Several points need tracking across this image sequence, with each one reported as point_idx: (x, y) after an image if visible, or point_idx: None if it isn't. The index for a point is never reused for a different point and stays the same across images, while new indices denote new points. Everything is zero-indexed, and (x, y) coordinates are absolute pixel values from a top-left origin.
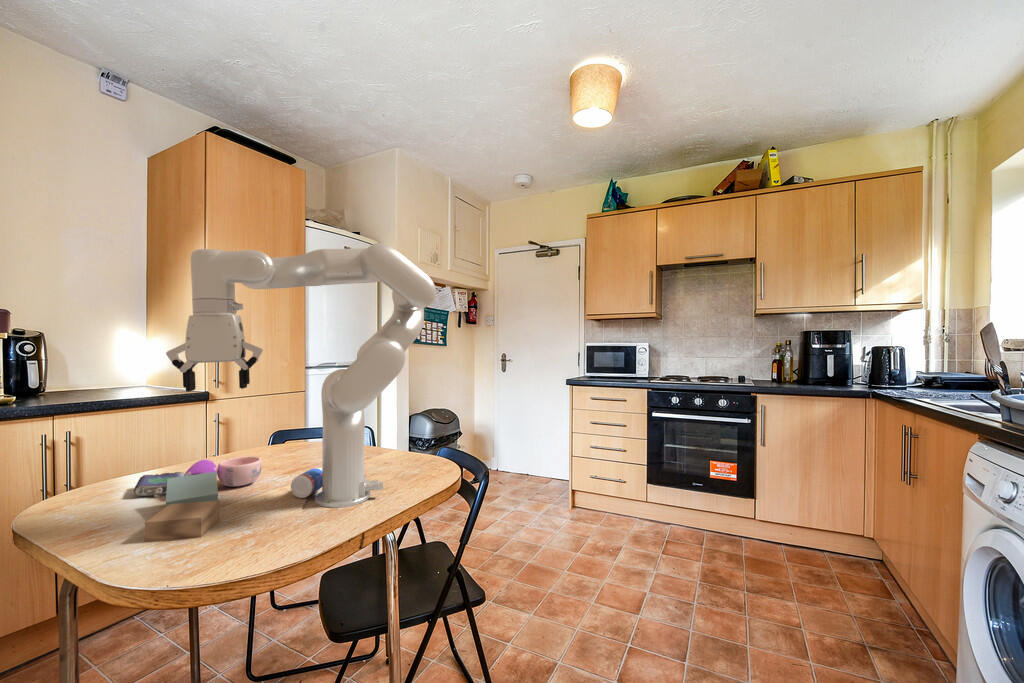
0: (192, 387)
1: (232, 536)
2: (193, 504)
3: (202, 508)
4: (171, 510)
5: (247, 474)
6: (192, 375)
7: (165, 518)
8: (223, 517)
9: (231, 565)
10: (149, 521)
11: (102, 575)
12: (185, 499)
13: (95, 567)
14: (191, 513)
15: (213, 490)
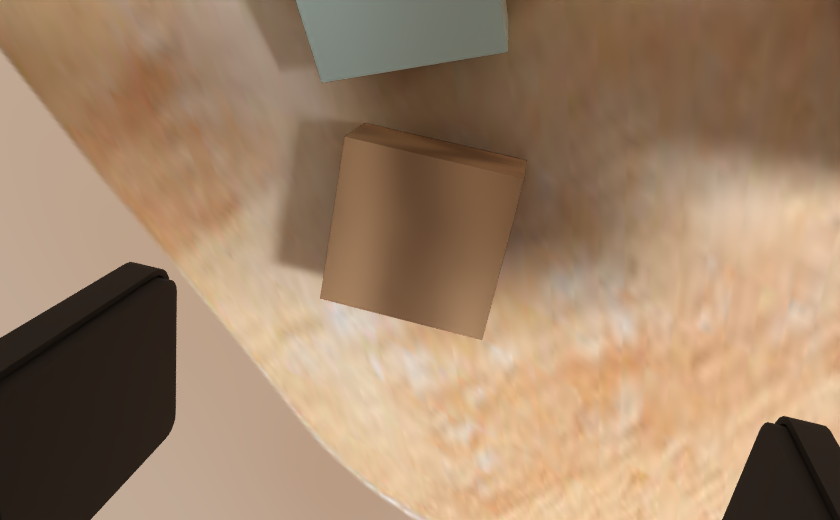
0: (156, 382)
1: (576, 337)
2: (433, 182)
3: (472, 247)
4: (371, 217)
5: None
6: (41, 468)
7: (372, 291)
8: (539, 143)
9: (579, 511)
10: (331, 295)
11: (306, 413)
12: (387, 69)
13: (274, 362)
14: (444, 283)
15: (486, 23)
